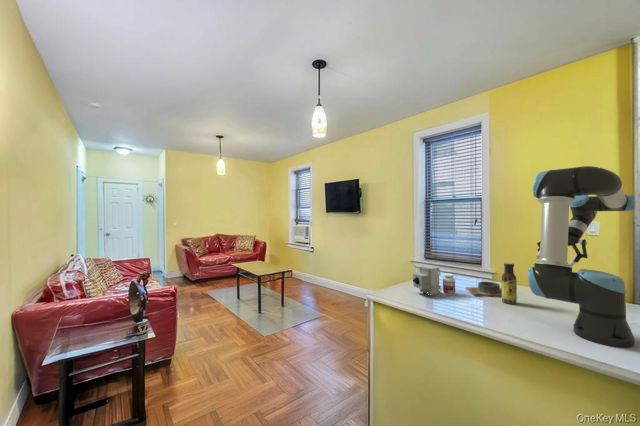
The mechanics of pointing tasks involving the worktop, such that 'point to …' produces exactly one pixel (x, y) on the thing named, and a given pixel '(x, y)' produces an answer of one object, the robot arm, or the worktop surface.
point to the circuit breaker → (427, 279)
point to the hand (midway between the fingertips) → (552, 261)
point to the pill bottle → (449, 284)
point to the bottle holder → (486, 289)
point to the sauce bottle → (509, 284)
